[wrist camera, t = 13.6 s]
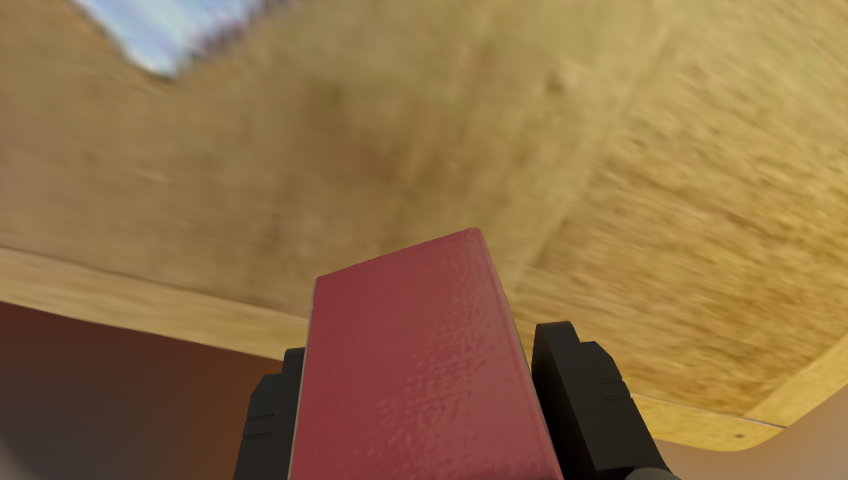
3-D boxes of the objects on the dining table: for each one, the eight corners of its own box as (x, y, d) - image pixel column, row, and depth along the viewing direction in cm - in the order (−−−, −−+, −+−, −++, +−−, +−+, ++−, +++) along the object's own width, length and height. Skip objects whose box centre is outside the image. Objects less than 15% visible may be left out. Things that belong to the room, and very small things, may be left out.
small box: (524, 352, 14) (647, 731, 8) (384, 393, 15) (397, 779, 9) (480, 216, 11) (618, 648, 5) (306, 273, 12) (239, 730, 6)
